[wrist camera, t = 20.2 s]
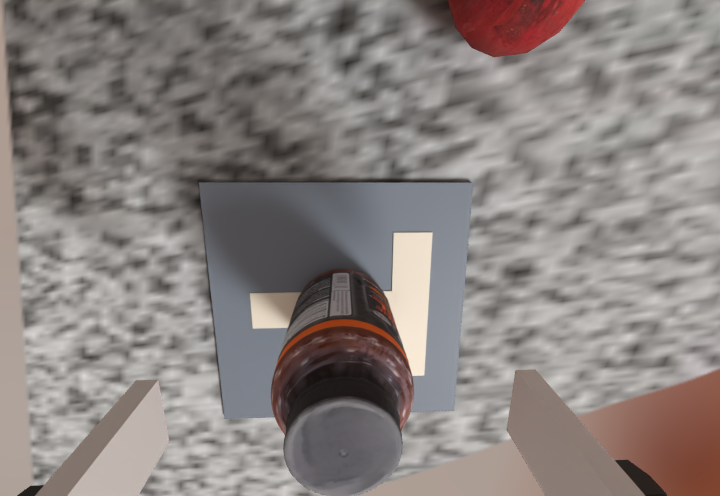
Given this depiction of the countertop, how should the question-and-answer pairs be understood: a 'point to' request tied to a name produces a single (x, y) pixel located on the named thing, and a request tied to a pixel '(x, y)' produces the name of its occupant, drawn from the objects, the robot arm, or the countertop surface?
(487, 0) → the onion
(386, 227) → the letter card
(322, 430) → the supplement bottle
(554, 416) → the robot arm
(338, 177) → the countertop surface
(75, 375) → the countertop surface
